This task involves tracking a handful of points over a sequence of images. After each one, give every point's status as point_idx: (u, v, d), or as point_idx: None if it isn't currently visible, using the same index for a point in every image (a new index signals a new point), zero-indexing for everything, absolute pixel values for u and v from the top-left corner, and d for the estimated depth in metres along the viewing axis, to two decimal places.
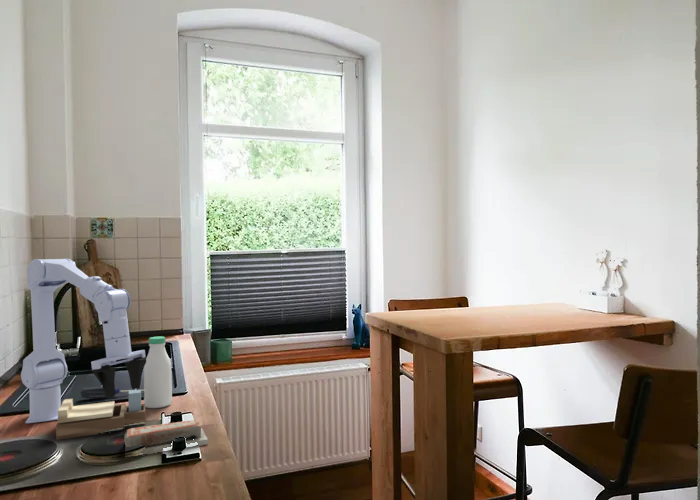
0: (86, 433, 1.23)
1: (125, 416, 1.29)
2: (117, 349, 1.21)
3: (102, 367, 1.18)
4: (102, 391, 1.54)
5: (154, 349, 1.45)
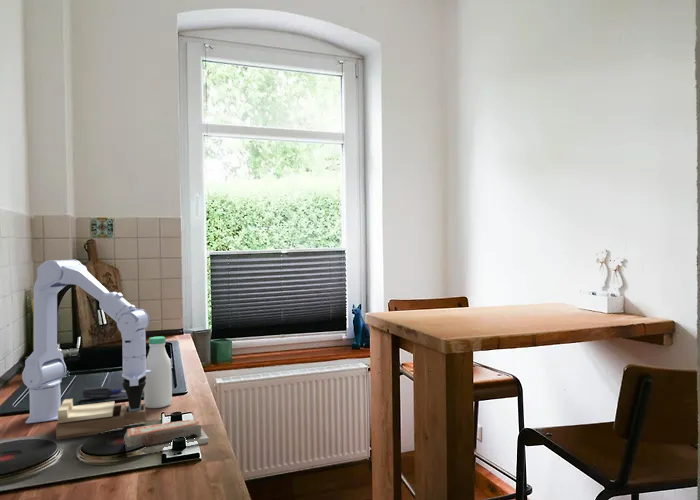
0: (86, 433, 1.23)
1: (125, 416, 1.29)
2: (142, 366, 1.32)
3: None
4: (104, 391, 1.54)
5: (154, 349, 1.45)
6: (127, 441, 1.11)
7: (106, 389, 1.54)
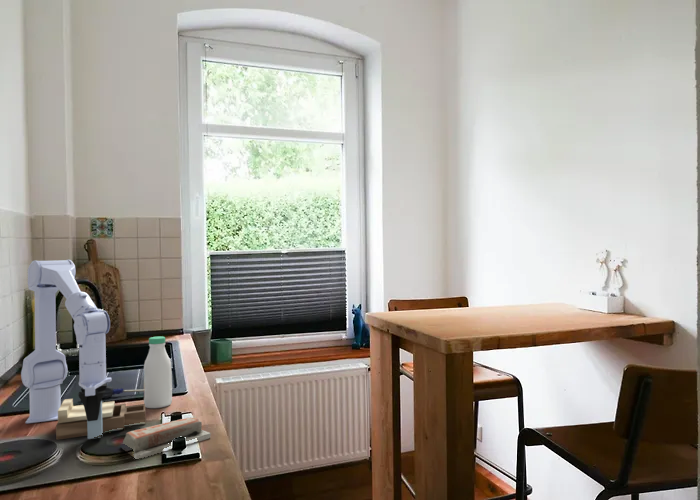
0: (86, 433, 1.23)
1: (125, 416, 1.29)
2: (101, 373, 1.19)
3: None
4: (106, 391, 1.54)
5: (154, 349, 1.45)
6: (134, 443, 1.10)
7: (108, 389, 1.55)
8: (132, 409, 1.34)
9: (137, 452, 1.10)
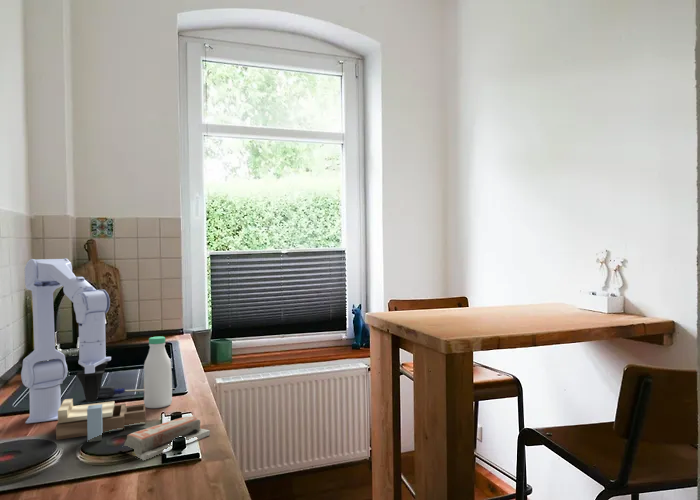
0: (86, 433, 1.23)
1: (125, 416, 1.29)
2: (101, 352, 1.19)
3: None
4: (107, 390, 1.54)
5: (154, 349, 1.45)
6: (140, 444, 1.09)
7: (109, 388, 1.55)
8: (132, 409, 1.34)
9: (144, 453, 1.09)
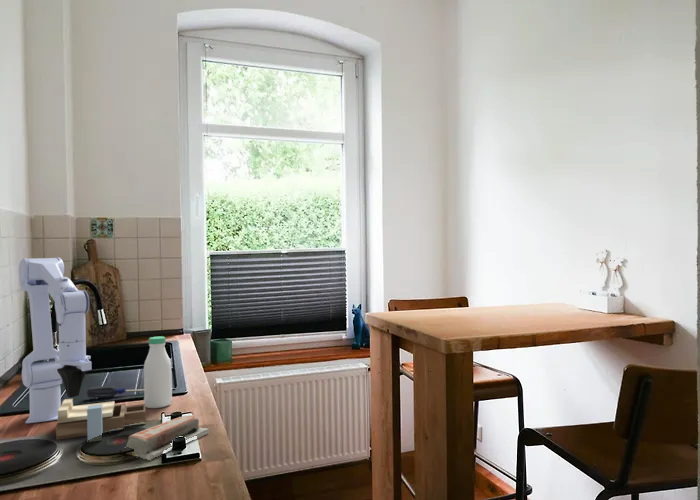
0: (86, 433, 1.23)
1: (125, 416, 1.29)
2: (85, 350, 1.22)
3: None
4: (108, 390, 1.54)
5: (154, 349, 1.45)
6: (145, 445, 1.09)
7: (110, 388, 1.55)
8: (132, 409, 1.34)
9: (149, 453, 1.09)
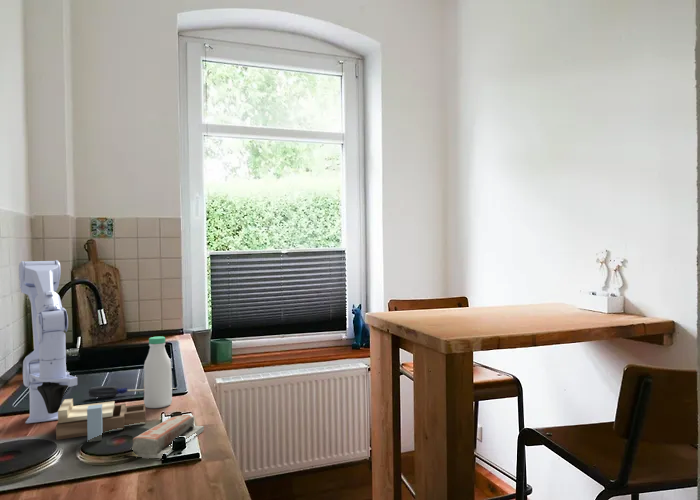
0: (86, 433, 1.23)
1: (125, 416, 1.29)
2: (65, 367, 1.26)
3: None
4: (110, 390, 1.55)
5: (154, 349, 1.45)
6: (155, 444, 1.09)
7: (112, 388, 1.55)
8: (132, 409, 1.34)
9: (159, 452, 1.09)
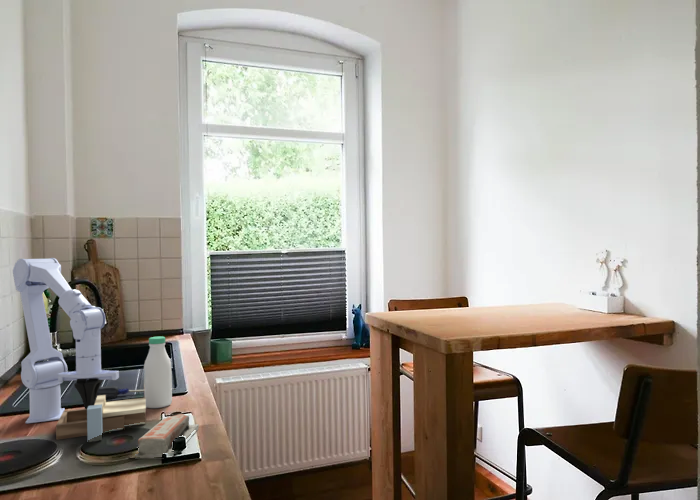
0: (86, 433, 1.23)
1: (125, 416, 1.29)
2: None
3: None
4: (111, 391, 1.55)
5: (154, 349, 1.45)
6: (164, 443, 1.09)
7: (113, 389, 1.55)
8: None
9: (167, 451, 1.10)
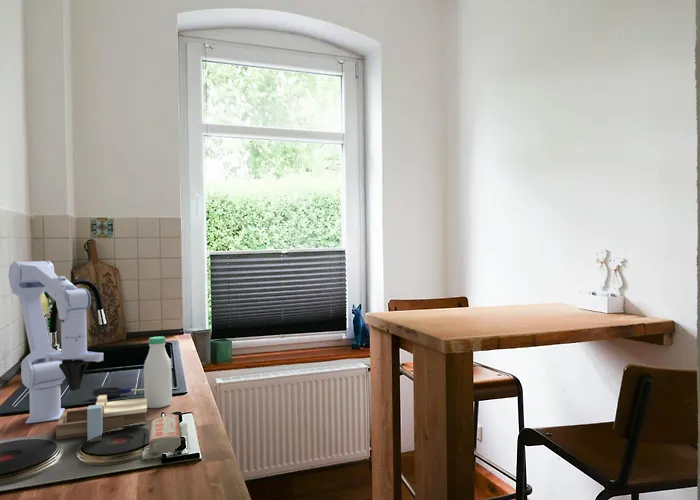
0: (86, 433, 1.23)
1: (125, 416, 1.29)
2: None
3: None
4: (114, 390, 1.55)
5: (154, 349, 1.45)
6: (179, 440, 1.11)
7: (116, 388, 1.55)
8: None
9: None
